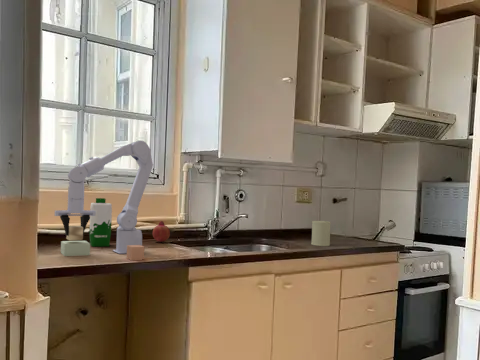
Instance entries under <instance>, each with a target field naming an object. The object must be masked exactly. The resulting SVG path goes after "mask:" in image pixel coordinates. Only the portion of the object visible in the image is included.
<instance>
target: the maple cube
mask: <svg viewBox="0 0 480 360" xmlns="http://www.w3.org/2000/svg"><path fill="white" fill-rule="evenodd" d="M65 236H66V235H65ZM65 239H66V241H84V240H83V239H84V235H83V227H81V225H69V235H68V236H66V237H65Z"/></svg>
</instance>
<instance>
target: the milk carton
mask: <svg viewBox="0 0 480 360" xmlns="http://www.w3.org/2000/svg"><path fill="white" fill-rule="evenodd" d="M106 200H107V199H106V198H104V197H102V198H101V197H97V198H96V197H95V202H91V203H90V211H96V214H95V216H90V220H89V226H88V228H89V233H88V234H89V243H90V247H92V248H93V247H95V248H96V247H97V248H98V247H102V248H103V247H110V243H111V236H112V219H113V215H112V214H113V207H112V206H113V205H112V203H110V202H106Z"/></svg>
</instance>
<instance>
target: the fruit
mask: <svg viewBox="0 0 480 360" xmlns="http://www.w3.org/2000/svg"><path fill="white" fill-rule="evenodd" d="M170 231H171V230H170V228H169V227H168V226H167V225H165V223H164V221H163V220H160V221H159V223H158V224H157V225H155V226H154V227H153V230H152V237H153V239H154V240H155V241H157V242H159V243H162V242H166V241H167V240H168V239H169V238H170V236H171V232H170Z"/></svg>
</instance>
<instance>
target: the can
mask: <svg viewBox="0 0 480 360" xmlns="http://www.w3.org/2000/svg"><path fill="white" fill-rule="evenodd" d="M311 223H312V224H311V243H310V244H311V245H313V246H317V247H319V246H320V247H328V246H329V247H330V246H331V243H330V241H331V224H332V223H331V221H327V220H312V221H311Z"/></svg>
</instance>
